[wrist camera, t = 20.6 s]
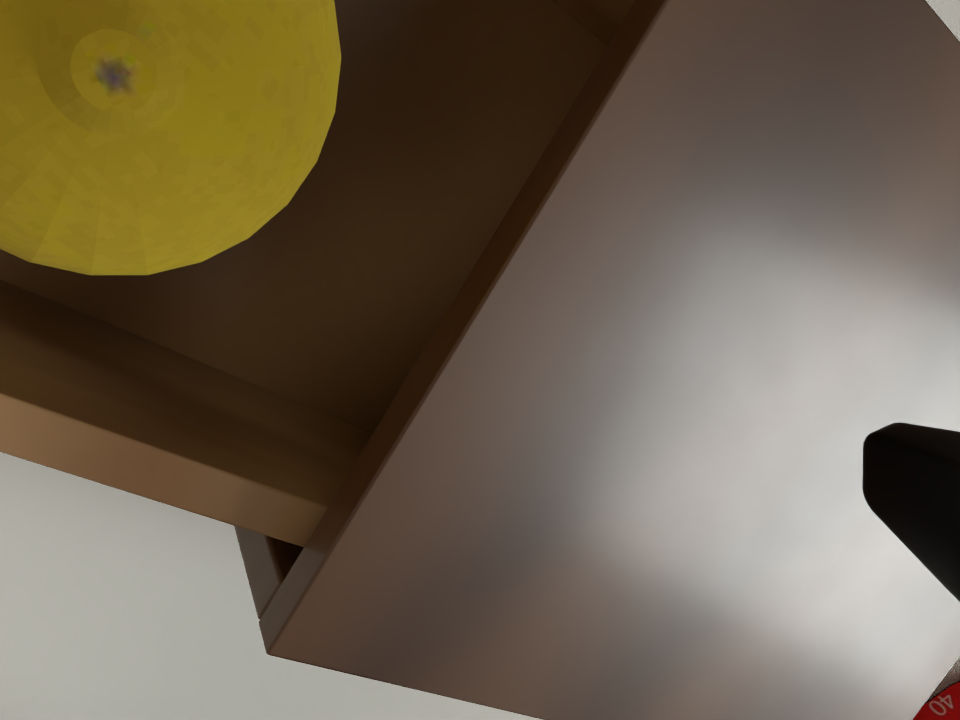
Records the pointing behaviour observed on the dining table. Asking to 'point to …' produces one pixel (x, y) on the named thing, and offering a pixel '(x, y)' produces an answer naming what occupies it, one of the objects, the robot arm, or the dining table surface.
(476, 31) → the drawer
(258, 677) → the dining table surface
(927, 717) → the kitchen timer
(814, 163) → the cabinet
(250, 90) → the lemon
